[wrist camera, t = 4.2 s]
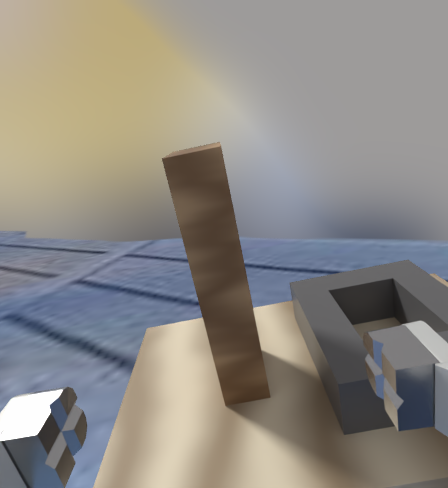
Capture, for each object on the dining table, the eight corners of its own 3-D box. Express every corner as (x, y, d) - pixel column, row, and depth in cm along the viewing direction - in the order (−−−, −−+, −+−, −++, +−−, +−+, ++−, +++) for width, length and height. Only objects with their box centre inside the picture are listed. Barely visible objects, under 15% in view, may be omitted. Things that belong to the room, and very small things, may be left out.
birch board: (82, 552, 17) (75, 539, 16) (149, 336, 34) (146, 328, 33) (675, 454, 15) (681, 438, 15) (434, 282, 32) (434, 273, 32)
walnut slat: (225, 405, 22) (162, 158, 17) (223, 356, 27) (173, 151, 22) (270, 397, 22) (220, 146, 17) (260, 349, 27) (219, 141, 22)
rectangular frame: (343, 435, 18) (338, 384, 17) (295, 318, 30) (289, 282, 29) (530, 402, 18) (537, 348, 17) (408, 296, 29) (408, 259, 28)
